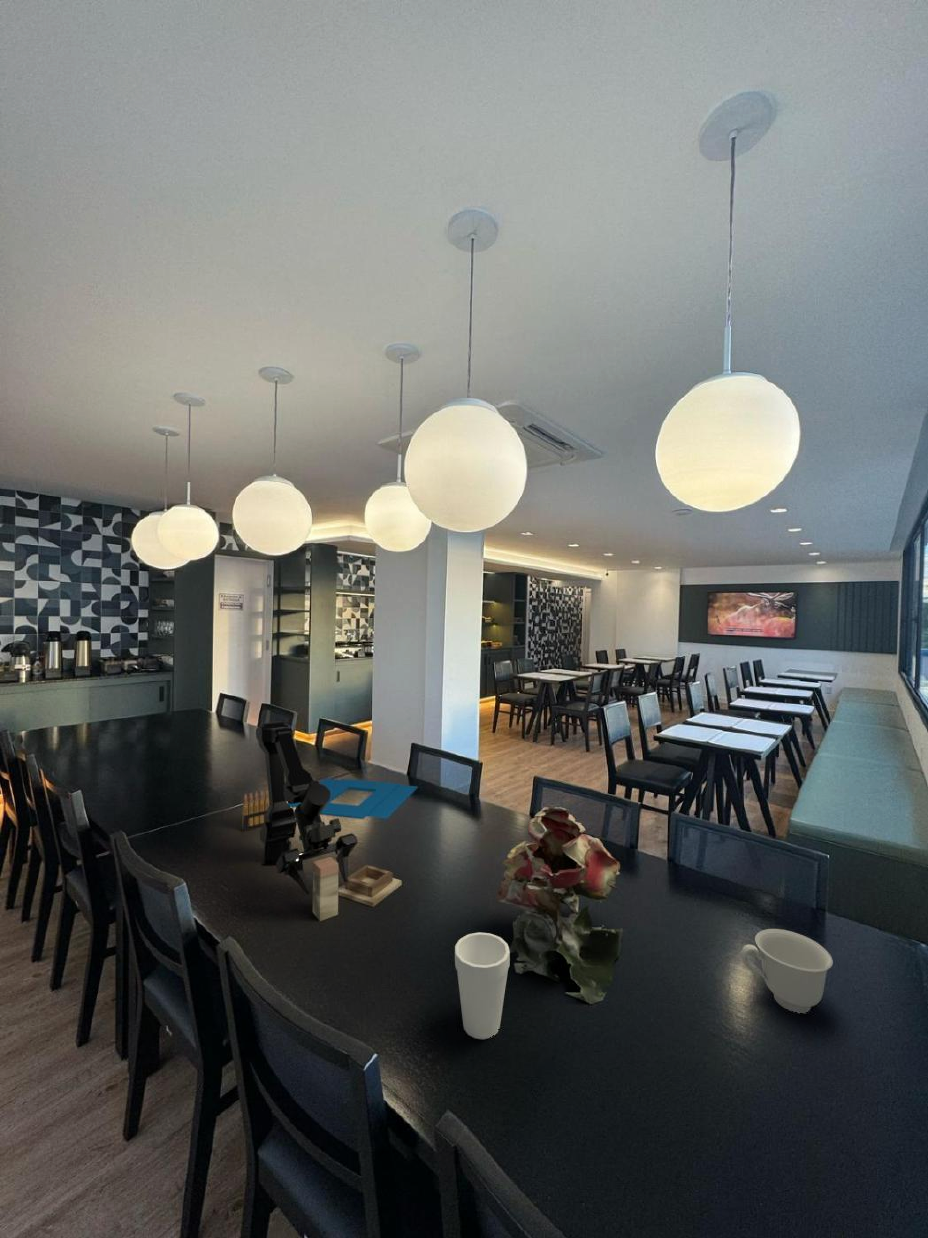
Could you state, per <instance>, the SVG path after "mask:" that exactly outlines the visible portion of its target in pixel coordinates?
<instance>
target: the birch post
mask: <svg viewBox="0 0 928 1238" xmlns="http://www.w3.org/2000/svg"><path fill="white" fill-rule="evenodd" d="M312 863H313V864H312V914H313V915H314V916H315V917H316V919H317V920H318V921H320V922H321V921H324V920H326V919H329V918H333V917H335V916H337V915H339V895H338V888H339V866H338V863H337V860H336V859H334V858H333V857H332V856H329V857H325V858H322V859H318V860H314V861H313V862H312Z"/></svg>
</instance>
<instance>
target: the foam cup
mask: <svg viewBox="0 0 928 1238" xmlns="http://www.w3.org/2000/svg"><path fill="white" fill-rule="evenodd" d="M509 947H510V946H509V945H508V943H507V942H506V941H505V940H504V939H503V938H502V937H501V936H498V935H495V934H492V933H489V932H488V933H487V932H479V931H478V932H474V933H468V934H466V935H465V936H463V937H461V938H460V939H458V940H457V943H456V944H455V945H454V964H455V969H456V971H457V972H456V973H457V980H458V990H459V999H460V1006H461V1007H460V1008H461V1015H462V1016H461V1018H462V1022H463V1023H462V1025H463V1030H464V1031H465V1032H466V1034H467V1035H468V1036H470V1037H472V1038H473V1039H478V1040H486V1039H491V1038H493V1037H494V1036H495V1035H496V1034H498V1033H499V1030H498V1029H500V1028H501V1022H502V1016H503V1015H502V1014H503V1006H504V999H505V991H506V985H507V978H508V971H509V968H510V966H511V965H510V961H511V959H510V958H511V957H510V955H511V954H510V951H509ZM493 1035H494V1036H493ZM492 1036H493V1037H492ZM490 1037H491V1038H490Z"/></svg>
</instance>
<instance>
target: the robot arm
mask: <svg viewBox="0 0 928 1238" xmlns="http://www.w3.org/2000/svg"><path fill="white" fill-rule="evenodd" d="M293 735H294V733H293V729H292V727H291V724H290V725H289V724H285V723H284V721H283V720H280V721H271V722H270V721H269V722H263V723H262V722H261V723H260V724H259V726H258V727H256V729H255V737H256V740H257V742H258V747H259V748H260V749H261V750H262V752H263V753H264V755H265V766H266V779H267V790H268V794H269V807H268V809H267V811H266V813H265V815H264V823H263V825H262V827H260V830H259V831H258V832H259V833H258V834H259V840H260V841H261V843H262V844H264V854H263V855H264V859H263V861H262V866H271V865H272V866H273V865H275V867H276V871H277V873H278V874H284V876H289V877H290V878H292V880H294V882H296V883H297V884H298V886H300V888H301V890H303V892H305V894H306V895H310V893H311V890H310V885H309V882H308V878H307V876H306V874H305V873H306V872H305V869H304V864H303V862H304V861H306V860H307V861H308V860H309V859H312V858H317V857H320V856H324V855H327V854H331V853H334V852H335V853H334V854H335V855H337V856H336V858H335V861H336V862H337V863H338V870H339V872H340V875H341V878H342V879H343V882H344V883H345V882H346V881H347V877H349V876H348V871H349V869H348V868H349V858H350V857H349V855H350V854H351V852H352V851H353V850H354V848H355V847H356V846H357V844H358V843H359V842H358V839H357V836H356V835H355V834H354V833H352V832H351V833H348V834H345V835H344V834H343V835H341V836H340V835H339V837H338V839H337V840H336V841H335V842H333V843H331V842H332V841H333V839H332V838H336V837H337V836H336V834H337V833H340V832H342V825H341V822H340V819H339V818H333V819H330V820H328V821H329V822H328V823H329V824H326V823H325V821H323V820H322V818H321V817H322V816H321V814H320V813H321V812H322V811H323V809H324V808H325V806H326V804H327V803H328V801H329V799H330V795H331V794H330V790H328V788H327V787H326V786H324V785H321V784H319V780H317V779H316V780H314V778H313V776H312V774H311V772H309V771H308V770H307V769H305V768H304V766H303V764H302V762H301V761H302V760H301V758H300V755H299V752H298V750H297V747H296V744H295V741H294V738H293V737H294V736H293ZM300 802H301V804H299V805H298V806H297V807H295V808H294V807H290V806H289V805H288V804H287V803H290V804H295V803H300ZM296 829H298V832H299V836H298V839H299V841H301V844H302V846H303V851H301V852H300V850H299V849H298V848H292V841H291V840H290V839H292V838H295V837H296V836H295V835H296V831H297V830H296Z"/></svg>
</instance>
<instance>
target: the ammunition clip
mask: <svg viewBox="0 0 928 1238" xmlns="http://www.w3.org/2000/svg"><path fill="white" fill-rule="evenodd" d="M248 796H249V797H248ZM248 796H247V793H244V795H243V801H242V803H243V804H242V815H241V826H240V827H241V828H240V829H241V831H242V832H247V831H251V830H254V829H259V828H260V829H261V827H262V825H263V823H264V815H265V813H266V811H267V809H268V807H269V794H268V788H266V790H265V792H264V791H263V790H262V789H261V790H260V791H259V794H258V791H257V790H256V791H255V793H254V798H253V793H252V792H250V793H249V795H248Z"/></svg>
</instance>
